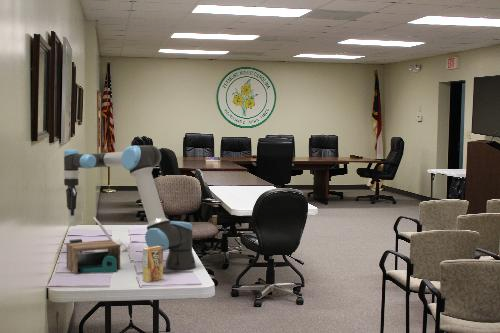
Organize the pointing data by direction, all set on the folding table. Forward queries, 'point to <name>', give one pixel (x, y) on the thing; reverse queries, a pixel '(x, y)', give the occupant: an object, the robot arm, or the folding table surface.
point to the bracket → (102, 266)
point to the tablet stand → (122, 247)
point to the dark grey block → (89, 256)
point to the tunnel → (86, 246)
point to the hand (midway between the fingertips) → (71, 221)
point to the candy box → (152, 263)
